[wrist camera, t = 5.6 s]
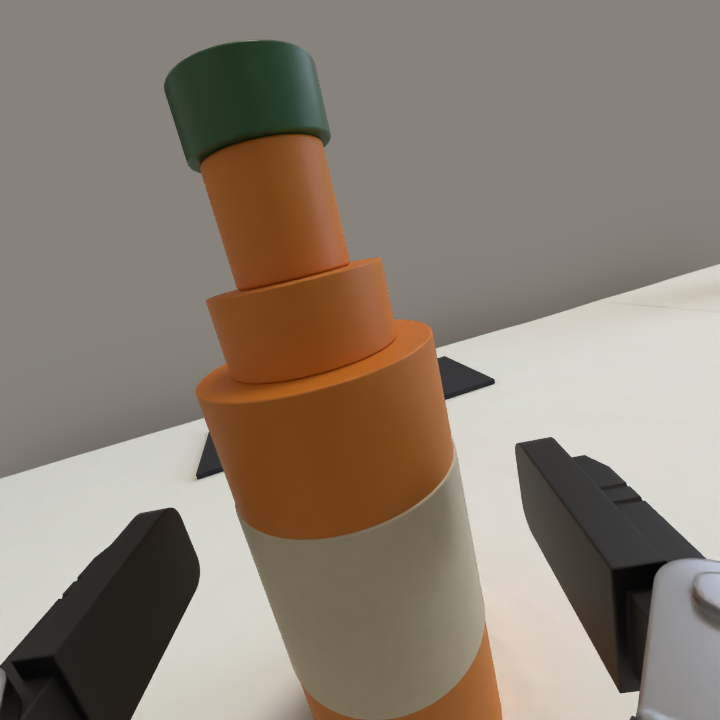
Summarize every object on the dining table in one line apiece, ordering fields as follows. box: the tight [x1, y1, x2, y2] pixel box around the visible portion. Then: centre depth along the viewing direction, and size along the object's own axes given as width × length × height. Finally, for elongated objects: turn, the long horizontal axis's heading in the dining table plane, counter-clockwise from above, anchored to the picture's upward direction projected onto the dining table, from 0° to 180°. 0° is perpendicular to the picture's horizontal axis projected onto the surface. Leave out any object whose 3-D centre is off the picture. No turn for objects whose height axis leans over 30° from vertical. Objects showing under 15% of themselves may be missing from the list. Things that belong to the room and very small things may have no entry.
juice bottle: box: [164, 40, 502, 720], centre depth 10 cm, size 6×6×18 cm
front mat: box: [196, 356, 495, 479], centre depth 38 cm, size 26×10×1 cm, turn 104°
